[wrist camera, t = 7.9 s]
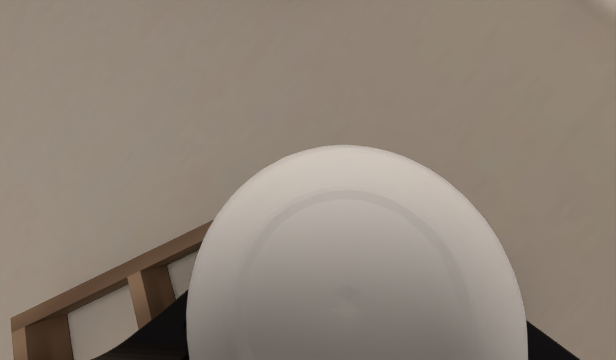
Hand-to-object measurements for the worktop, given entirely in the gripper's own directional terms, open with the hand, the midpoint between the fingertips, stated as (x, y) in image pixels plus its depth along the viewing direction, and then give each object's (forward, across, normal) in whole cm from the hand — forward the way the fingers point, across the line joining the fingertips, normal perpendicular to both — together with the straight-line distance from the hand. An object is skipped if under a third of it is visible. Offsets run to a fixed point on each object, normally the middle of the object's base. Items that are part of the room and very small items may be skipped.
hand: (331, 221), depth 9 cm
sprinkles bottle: (+4, 0, +6) cm, 8 cm away
